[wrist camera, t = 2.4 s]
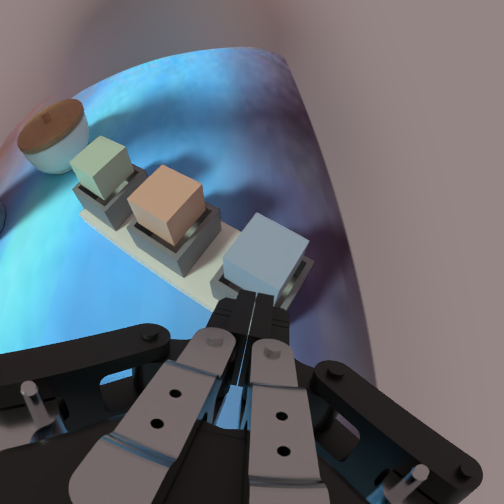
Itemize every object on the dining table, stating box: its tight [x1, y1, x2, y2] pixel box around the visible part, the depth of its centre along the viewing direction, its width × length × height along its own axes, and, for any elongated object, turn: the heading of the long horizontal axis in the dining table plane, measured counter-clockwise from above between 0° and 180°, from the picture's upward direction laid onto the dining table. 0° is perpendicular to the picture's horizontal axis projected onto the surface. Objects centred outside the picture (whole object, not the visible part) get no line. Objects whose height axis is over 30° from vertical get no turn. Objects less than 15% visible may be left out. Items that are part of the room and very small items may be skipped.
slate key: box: [223, 212, 309, 307], centre depth 22 cm, size 4×4×4 cm
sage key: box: [69, 135, 134, 200], centre depth 26 cm, size 4×4×4 cm
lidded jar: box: [18, 99, 89, 175], centre depth 32 cm, size 11×11×9 cm
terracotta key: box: [127, 165, 206, 246], centre depth 24 cm, size 4×4×4 cm
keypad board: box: [72, 163, 315, 334], centre depth 28 cm, size 25×8×5 cm, turn 58°
